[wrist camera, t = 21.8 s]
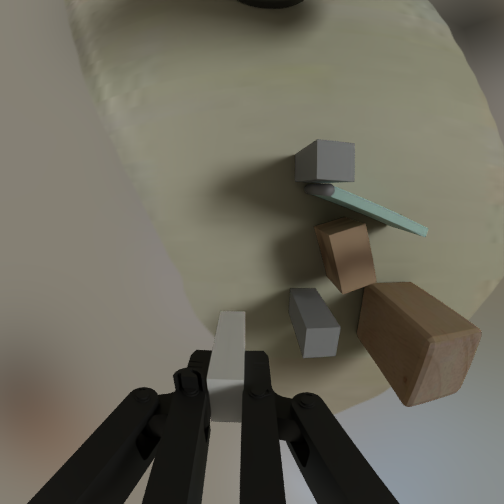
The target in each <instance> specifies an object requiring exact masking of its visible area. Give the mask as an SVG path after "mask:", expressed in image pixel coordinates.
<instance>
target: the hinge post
mask: <svg viewBox="0 0 504 504" xmlns="http://www.w3.org/2000/svg"><path fill="white" fill-rule="evenodd" d="M354 175H355V143H347V142H339V141H329V140H319V139H317V140H315V141H314V142H313V143H311V144H310V145H308V146H307V147H305V148H304V149H302V150H301V151H299V152H298V153H297V154H295V182H311V183H335V182H354Z"/></svg>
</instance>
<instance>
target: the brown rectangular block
mask: <svg viewBox="0 0 504 504" xmlns="http://www.w3.org/2000/svg"><path fill="white" fill-rule="evenodd" d="M314 228H315V232H316V236H317V239H318V243H319V247H320V251H321V255H322V259H323V263H324V267H325V271H326V275H327V277H328V278H329V279H330V280H331V281H332V283H333V284H334V285H335V286H336V287H337V288H338V290H339V291H340V292H341V293H342V294H346V293H348V292H351V291H354V290H357V289H359V288H362V287H365V286H367V285H370V284H373V283H375V282H377V281H376V275H375V269H374V264H373V258H372V253H371V248H370V243H369V238H368V233H367V228H366V224H364V223H362V222H359V221H356V220H352V219H349V218H346V217H343V218H340V219H336V220H333V221H330V222H327V223H323V224H320V225H317V226H314Z"/></svg>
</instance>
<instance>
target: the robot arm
mask: <svg viewBox="0 0 504 504" xmlns="http://www.w3.org/2000/svg"><path fill="white" fill-rule="evenodd" d="M238 1H240V2H242V3H245V4H247V5H251V6H255V7H260V8H284V7H289V6H293V5H296V4H298V3H300V2H302V1H303V0H238ZM173 378H174V383H175V389H176V390H175V392H172V393H169V394H161V395H158V394H157V393H156V392H155V390H153V389H151V388H146V387H142V388H137V389H135V390H133V391H132V392H130V394H129V395H128V396H127V397H126V398H125V399H124V400H123V401H122V402H121V403H120V404H119V405H118V407H117V408H116V409H115V410H114V411H113V412H112V413H111V414H110V415H109V416H108V418H107V419H106V420H105V421H104V422H103V423H102V424H101V425H100V426H99V427H98V428H97V429H96V430H95V431H94V433H93V434H92V435H91V436H90V437H89V438H88V439H87V440H86V441H85V442H84V444H82V445H81V447H80V448H79V449H78V450H77V451H76V452H75V453H74V454H73V455H72V456H71V457H70V458H69V459H68V461H67V462H66V463H65V464H64V465H63V466H62V467H61V468H60V469H59V470H58V471H57V472H56V473H55V475H54V476H53V477H52V478H51V479H50V480H49V481H48V482H47V483H46V484H45V485H44V486H43V487H42V488H41V489H40V491H39V492H38V493H37V494H36V495H35V496H34V497H33V498H32V499H31V500H30V501H29V502H28V503H27V504H124V502H125V501H126V499H127V498H128V496H129V495H130V493H131V492H132V491H133V489H134V488H135V486H136V485H137V483H138V482H139V480H140V479H141V477H142V476H143V474H144V473H145V471H146V470H147V468H148V467H149V465H150V464H151V462H152V461H153V459H154V458H155V459H154V462H153V466H152V469H151V473H150V477H149V480H148V483H147V487H146V490H145V494H144V498H143V501H142V504H201V502H202V494H203V486H204V477H205V469H206V461H207V453H208V446H209V438H210V431H211V429H210V418H211V421H215V422H242V426H241V427H242V428H241V468H240V504H286V500H285V490H284V480H283V471H282V462H281V453H280V444H279V440H284V441H286V443H287V445H288V447H289V449H290V451H291V453H292V455H293V457H294V459H295V461H296V463H297V465H298V467H299V469H300V471H301V473H302V475H303V477H304V479H305V481H306V483H307V485H308V487H309V489H310V491H311V492H312V494H313V496H314V498H315V500H316V502H317V504H399V503H398V501H397V500H396V499H395V497H394V496H393V495H392V493H391V492H390V491H389V490H388V488H387V487H386V486H385V484H384V483H383V482H382V480H381V479H380V478H379V476H378V475H377V474H376V472H375V471H374V470H373V468H372V467H371V466H370V464H369V463H368V462H367V460H366V459H365V458H364V456H363V455H362V454H361V452H360V451H359V450H358V448H357V447H356V445H355V444H354V443H353V441H352V440H351V439H350V437H349V436H348V435H347V433H346V432H345V431H344V429H343V428H342V426H341V425H340V424H339V422H338V421H337V419H336V418H335V417H334V415H333V414H332V412H331V411H330V410H329V408H328V407H327V405H326V404H325V403H324V401H323V400H322V398H320V397H319V396H318V395H316V394H314V393H308V392H305V393H300V394H297V395H295V396H294V397H293V398H292V399H291V398H286V397H282V396H280V395H278V394H276V393H275V392H274V391H273V389H272V386H271V377H270V369H269V359H268V355H267V354H266V353H265V352H264V351H245V311H220V316H219V321H218V325H217V330H216V335H215V340H214V345H213V350H212V351H209V350H196V351H195V352H194V353H193V354H192V355H191V357H190V360H189V363H188V367H187V368H183V369H180V370H178V371H176V372H175V374H174V375H173Z"/></svg>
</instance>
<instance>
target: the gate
mask: <svg viewBox="0 0 504 504" xmlns="http://www.w3.org/2000/svg"><path fill="white" fill-rule="evenodd" d="M304 191H305V192H306V193H307V194H311V195H314V196H317V197H320V198H322V199H325V200H328V201H330V202H333V203H335V204H338V205H341V206H343V207H346V208H348V209H351V210H353V211H356V212H358V213H361V214H363V215H365V216H368V217H370V218H373V219H375V220H377V221H380V222H382V223H384V224H387V225H389V226H392V227H395V228H398V229H401V230H404V231H408V232H411V233H414V234H417V235H420V236H423V237H426V234H427V231H428V228H426V227H424V226H422V225H420V224H418V223H416V222H414V221H412V220H410V219H408V218H406V217H404V216H402V215H400V214H398V213H395V212H393V211H391V210H389V209H387V208H384V207H382V206H380V205H378V204H376V203H373V202H371V201H369V200H366V199H364V198H362V197H359V196H357V195H355V194H352V193H350V192H347V191H345V190H342V189H340V188H337V187H335V186H333V185H332V184H329V183H327V184H308V185H306V186H305V188H304Z"/></svg>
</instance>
